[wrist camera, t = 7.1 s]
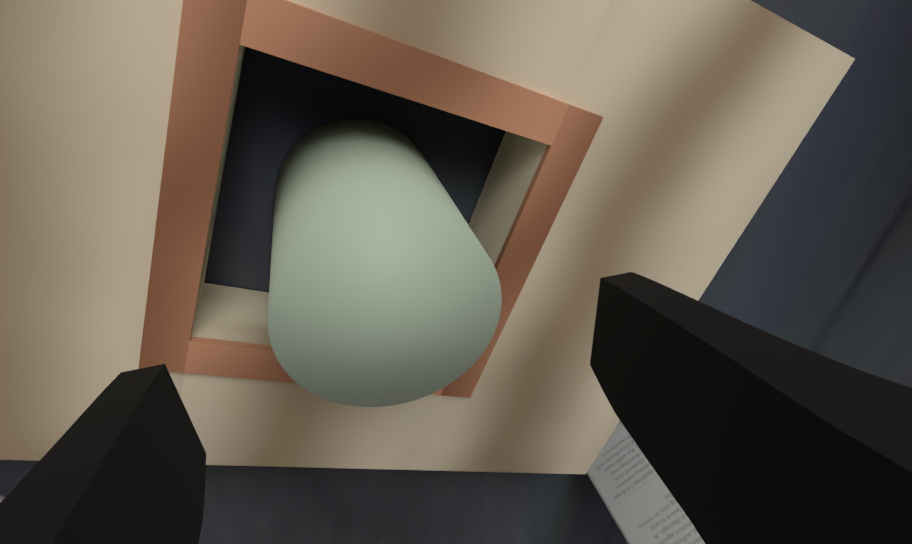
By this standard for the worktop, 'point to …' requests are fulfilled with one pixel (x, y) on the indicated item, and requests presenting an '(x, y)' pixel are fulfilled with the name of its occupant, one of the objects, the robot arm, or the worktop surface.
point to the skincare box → (638, 495)
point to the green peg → (374, 270)
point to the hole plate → (493, 223)
